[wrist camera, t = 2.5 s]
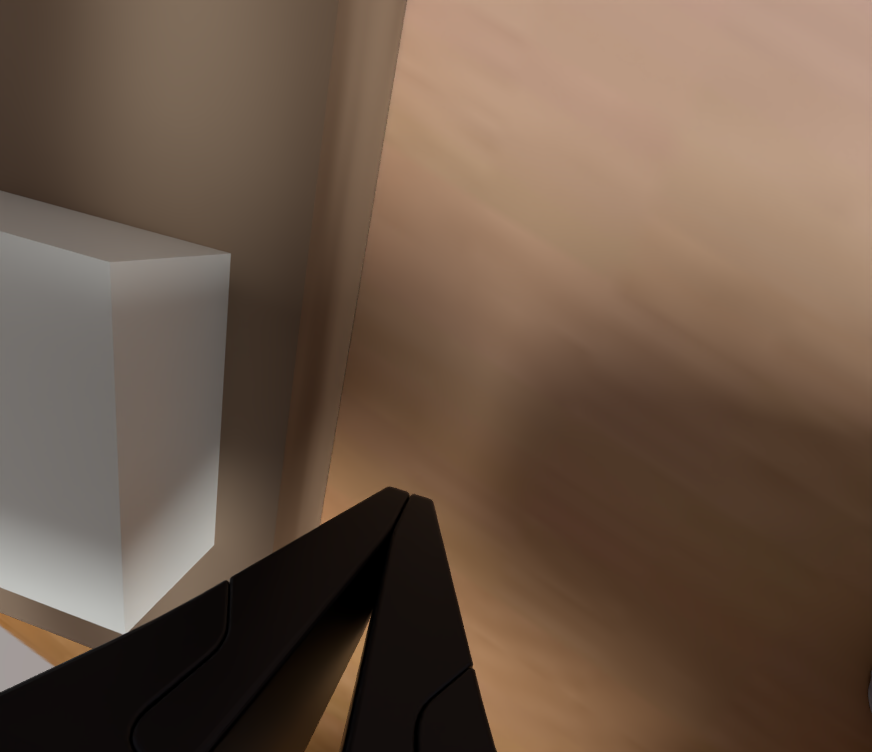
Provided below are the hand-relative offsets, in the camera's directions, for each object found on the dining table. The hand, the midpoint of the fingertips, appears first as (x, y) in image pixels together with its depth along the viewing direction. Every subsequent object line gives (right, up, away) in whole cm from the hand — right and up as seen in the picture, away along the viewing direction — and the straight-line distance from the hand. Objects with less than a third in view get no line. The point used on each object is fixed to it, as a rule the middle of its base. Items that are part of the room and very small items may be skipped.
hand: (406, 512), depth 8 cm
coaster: (-8, +3, +2) cm, 8 cm away
